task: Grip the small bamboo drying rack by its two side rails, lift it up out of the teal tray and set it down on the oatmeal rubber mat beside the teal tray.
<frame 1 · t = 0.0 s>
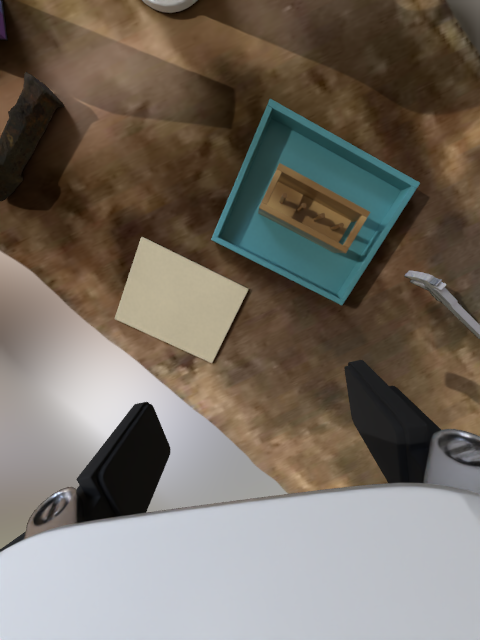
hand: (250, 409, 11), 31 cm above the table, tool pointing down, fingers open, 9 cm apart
hand tool: (33, 155, 37), on the table
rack: (306, 215, 36), resting on teal tray
mat: (179, 304, 42), on the table
teal tray: (306, 215, 37), on the table
caliper: (446, 308, 40), on the table
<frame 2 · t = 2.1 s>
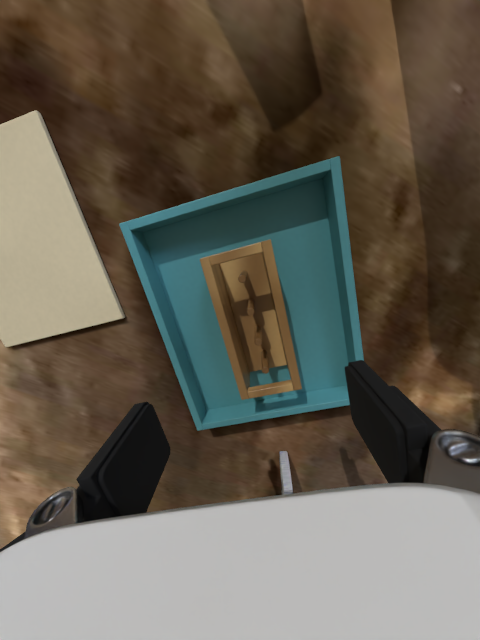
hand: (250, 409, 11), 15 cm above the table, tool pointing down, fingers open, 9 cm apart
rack: (254, 313, 25), resting on teal tray
mat: (22, 247, 25), on the table
teal tray: (254, 313, 25), on the table
caliper: (284, 501, 34), on the table
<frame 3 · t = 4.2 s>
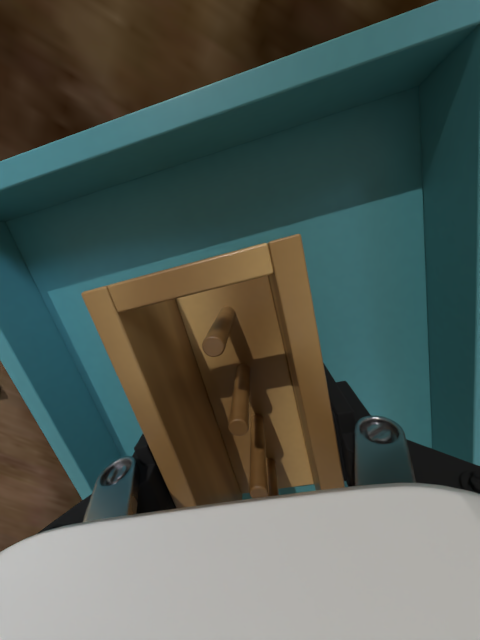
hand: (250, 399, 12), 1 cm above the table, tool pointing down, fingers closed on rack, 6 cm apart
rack: (250, 388, 12), resting on teal tray, touching gripper
teal tray: (250, 386, 13), on the table
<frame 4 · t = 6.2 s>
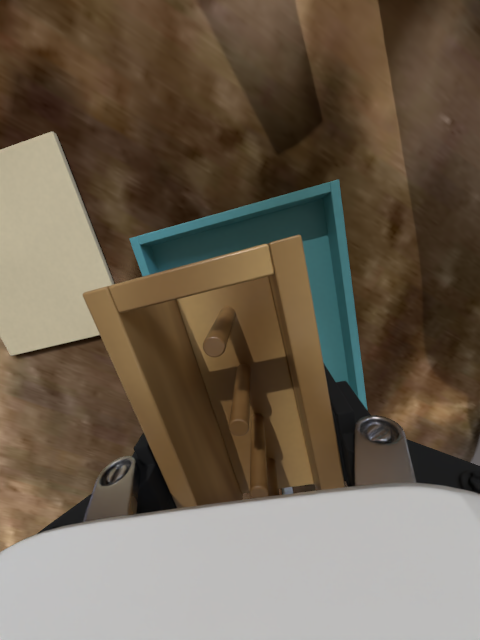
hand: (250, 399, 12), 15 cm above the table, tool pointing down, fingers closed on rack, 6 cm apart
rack: (250, 388, 12), point 14 cm above the table, touching gripper
mat: (32, 258, 26), on the table
teal tray: (257, 324, 26), on the table
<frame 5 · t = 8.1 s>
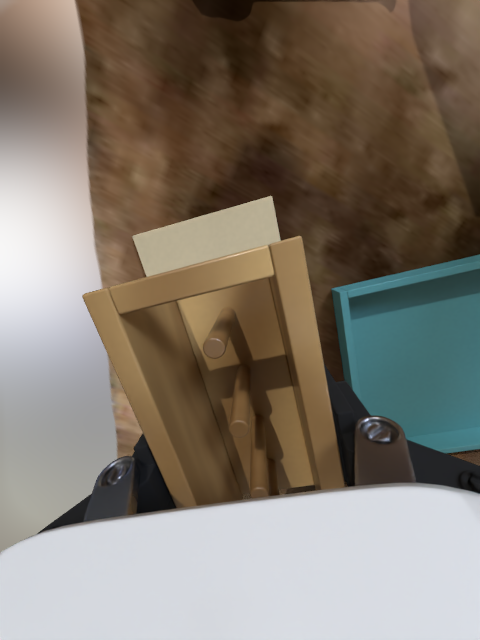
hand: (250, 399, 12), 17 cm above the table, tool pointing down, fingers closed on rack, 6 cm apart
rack: (251, 389, 12), point 16 cm above the table, touching gripper
mat: (223, 303, 28), on the table
teal tray: (424, 362, 29), on the table
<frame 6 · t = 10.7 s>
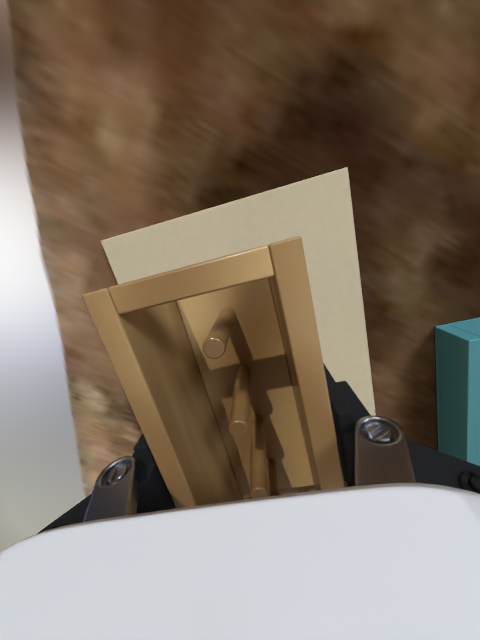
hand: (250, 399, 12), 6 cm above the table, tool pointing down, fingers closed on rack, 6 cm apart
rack: (250, 389, 12), point 5 cm above the table, touching gripper
mat: (253, 348, 17), on the table
when the fingers open (1 cm above the table, at t = 12.4 s): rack stays where it is, resting on mat.
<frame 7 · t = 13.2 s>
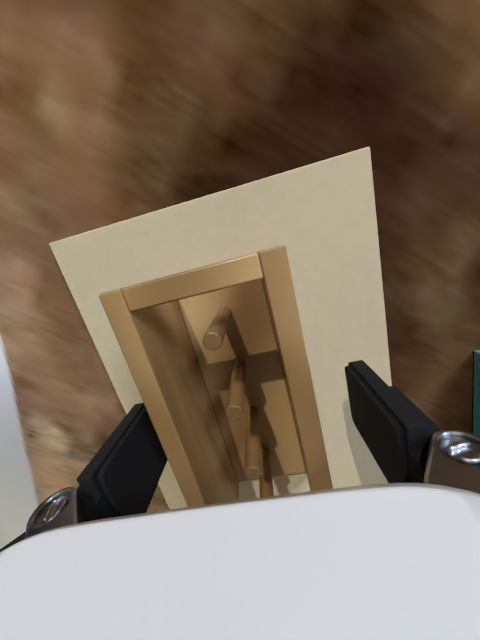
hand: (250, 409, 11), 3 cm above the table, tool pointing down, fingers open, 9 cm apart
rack: (246, 382, 14), resting on mat
mat: (246, 377, 14), on the table
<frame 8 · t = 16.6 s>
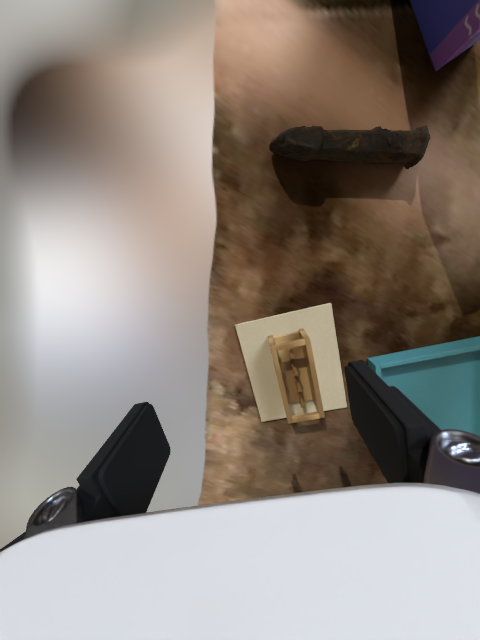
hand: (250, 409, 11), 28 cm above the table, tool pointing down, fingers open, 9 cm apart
hand tool: (338, 158, 32), on the table
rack: (293, 368, 41), resting on mat
mat: (292, 366, 41), on the table
teal tray: (430, 405, 42), on the table
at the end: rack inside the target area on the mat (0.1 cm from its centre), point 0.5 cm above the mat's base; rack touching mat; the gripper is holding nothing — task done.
